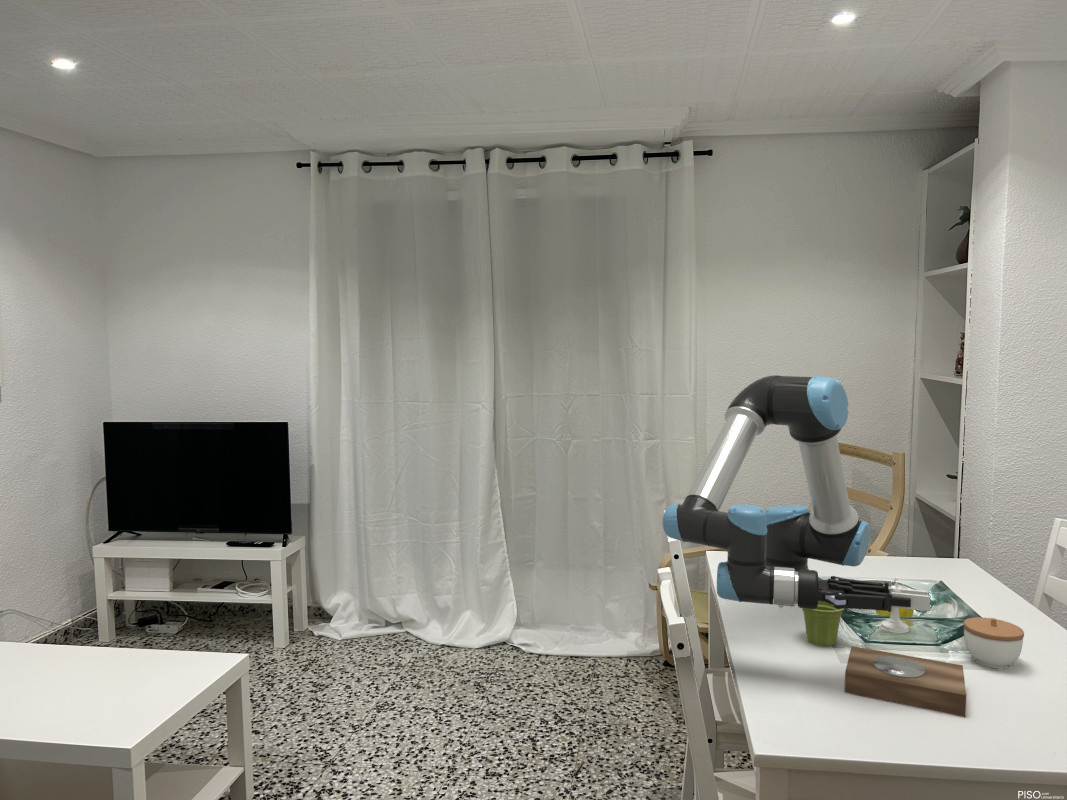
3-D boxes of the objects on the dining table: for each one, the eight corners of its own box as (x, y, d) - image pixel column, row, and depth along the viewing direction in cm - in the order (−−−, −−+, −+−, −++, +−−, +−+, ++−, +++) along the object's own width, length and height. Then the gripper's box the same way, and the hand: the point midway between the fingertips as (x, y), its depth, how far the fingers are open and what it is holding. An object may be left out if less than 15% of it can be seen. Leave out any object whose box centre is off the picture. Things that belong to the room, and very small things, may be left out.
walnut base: (850, 664, 154) (851, 644, 154) (961, 685, 145) (962, 663, 145) (844, 692, 142) (845, 670, 142) (965, 716, 133) (966, 693, 132)
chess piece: (906, 625, 145) (908, 574, 144) (911, 634, 140) (913, 582, 139) (878, 622, 146) (880, 572, 145) (882, 631, 141) (884, 580, 141)
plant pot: (795, 644, 164) (796, 606, 164) (802, 630, 173) (803, 594, 172) (841, 653, 160) (842, 613, 159) (845, 637, 168) (846, 600, 168)
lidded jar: (950, 656, 159) (952, 613, 158) (986, 648, 162) (988, 607, 162) (997, 677, 149) (999, 631, 148) (1034, 668, 152) (1037, 624, 152)
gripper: (795, 594, 156) (920, 606, 148) (796, 619, 141) (935, 634, 134) (796, 559, 155) (921, 570, 148) (797, 581, 141) (936, 594, 133)
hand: (927, 600), depth 141 cm, fingers closed on chess piece, 2 cm apart
